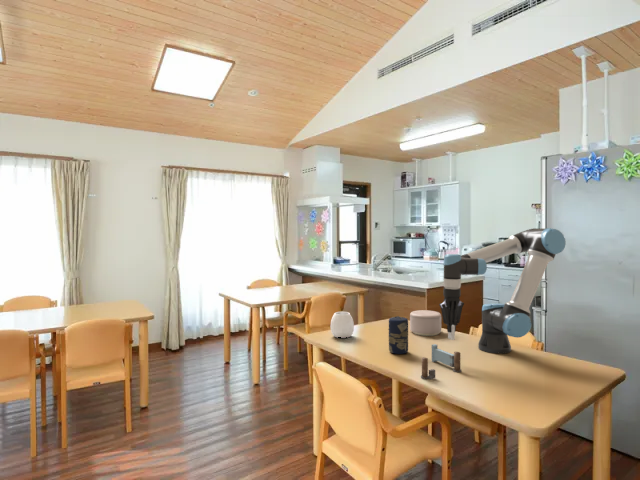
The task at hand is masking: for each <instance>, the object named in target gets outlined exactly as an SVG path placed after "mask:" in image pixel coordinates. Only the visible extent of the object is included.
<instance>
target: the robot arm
mask: <svg viewBox="0 0 640 480" xmlns="http://www.w3.org/2000/svg"><path fill="white" fill-rule="evenodd" d="M566 245H567V244H566V238H565V235H564V234H563V232H561V230H559V229H557V228H552V227H546V228H535V227H534V228H528V229H526V230H522V231H519V232H517V233H516V234H512V235H510V236H508V238H507V239H505V240H502V241H499V242H496V243H493V244H489V245H487V246H485V247H481V248H478V249H475V250H473V251H470V252H468V253H467V252H466V253H465V254H462V255H461V254H456V253H455V254H454V253H447V254H446V253H445V254H444V256H443V290H442V291H443V292H442V293H443V297H444V298H443V302H442V303H439V308H440V311H441V318H442V322H443V324H444V325H446V329H447V330H446V332H447V339H448V340H452V341H454V340H455V339H456V337H455V335H456V333H455V332H457V331H456V329H457V327H456V326H458V325H459V324H460V321H461V316H462V312H463V311H462V310H463V307H464V305H465V303H464V302H462V301H461V299H460V297H461V295H462V294H461V291H462V289H461V287H462V276H467V275H468V276H470V275H472V276H475V275H476V276H480V275H485V274H486V272H487V270H488V269H487V268H488V265H487V263H491V262H493V261H495V260H498V259H501V258H504V257H506V256H507V257H508V256H510V255H512V254H517V255H518V254H521V253H525V252H526V253H528V257H527V261H526V263H525V265H524V267H523V269H522V272H521V273H520V276H519V279H518V281H517V283H516V285H515V288H514V290H513V293H512V295H511V297H510V300H509V301H507V302H505V303H484V304H483V305H482V307H481V335H480V338H479V341H478V346H477V347H478V349H479V350H480V351H483V352H486V353H491V354H508V353H510V352H512V346H511V342H510V339H509V337H512V338H516V339H517V338H522V337H524V336H526V335H527V334H528V333H529V332H530V330H531V328H532V321H531V317H530V316H531V311H530V307H531V304H532V301H533V300H534V297H535V296H536V293H537V290H538V289H539V286H540V283H541V281H542V280H543V279H542V278H543V276H544V274H545V271H546V269H547V267H548V264H549V263H550V262H553V261H554V260H555V257H556V255H558V254H560V253H562V252H563V251H564V249H565V247H566Z"/></svg>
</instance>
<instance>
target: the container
mask: <svg viewBox="0 0 640 480" xmlns="http://www.w3.org/2000/svg"><path fill="white" fill-rule="evenodd" d="M409 330H410V331H411V332H412V333H413V334H415V335H418V336H424V337H426V336H427V337H428V336H429V337H430V336H431V337H432V336H433V337H434V336H437V335H439V334H440V333H442V313H440V312H439V311H435V310H430V309H429V310H427V309H423V310H422V309H421V310H420V309H418V310H413V311H411V312H410V313H409Z"/></svg>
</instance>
